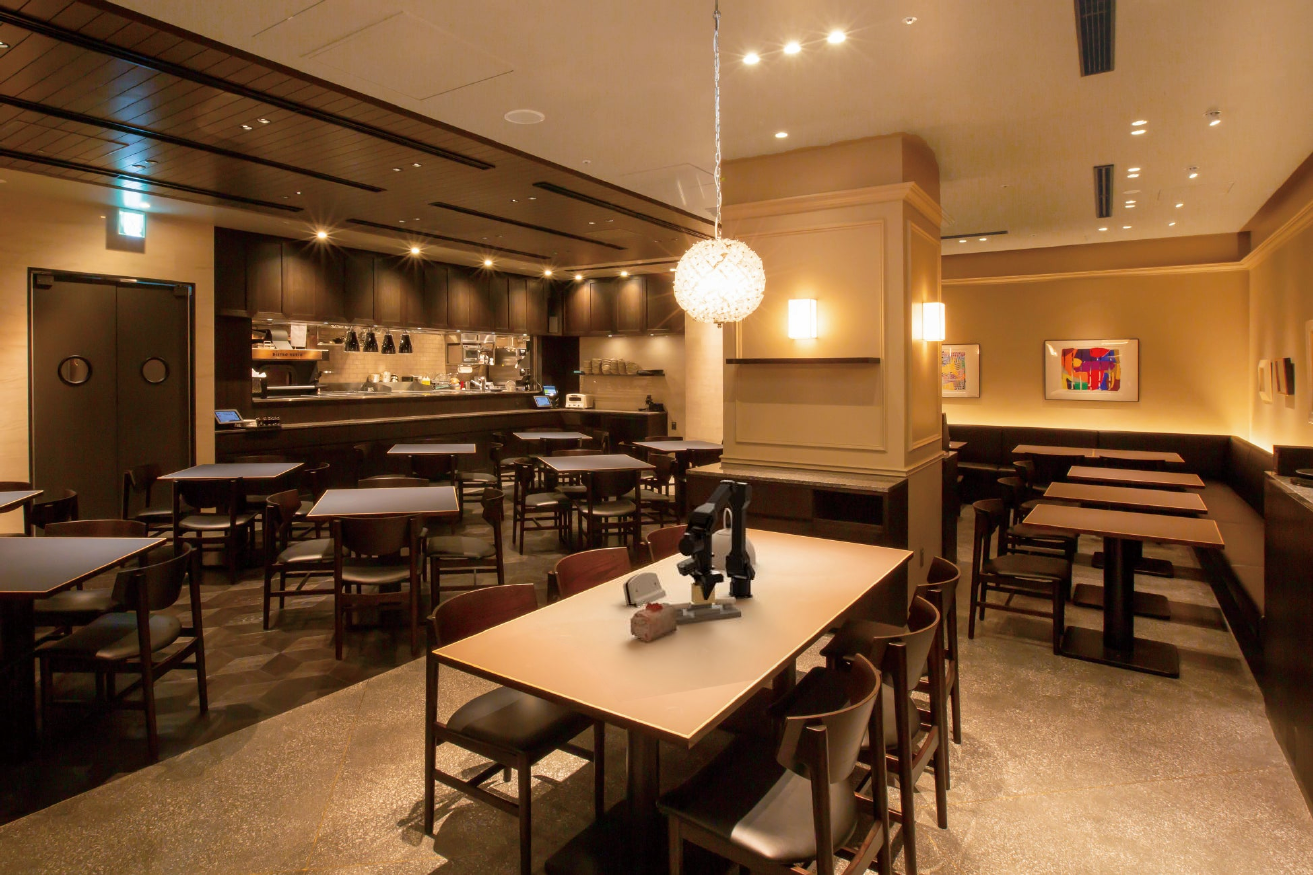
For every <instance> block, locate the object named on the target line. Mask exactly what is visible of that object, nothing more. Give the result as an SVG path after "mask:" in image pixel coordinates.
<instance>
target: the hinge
mask: <svg viewBox="0 0 1313 875" xmlns="http://www.w3.org/2000/svg"><path fill="white" fill-rule="evenodd" d="M622 588H623V593H624V599H625V605H626V604H628V605H627V606H629V605H634V604H636V607H637V606H640V607H642V605H643V604H645V605H648V604H647V602H650V603H652V602H654V600H655V601H658V600H659V599H661V598H664V597H666V596H667V594H666V590H665V589H663V588H662V586H661V582H660V580H659V578H658V574H656V573H655V572H641V573H638V574H634V575H633V576H631V577H630V578H628V579H627V580H625V582H624V583H623V585H622ZM643 606H644V605H643Z"/></svg>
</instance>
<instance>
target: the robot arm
mask: <svg viewBox="0 0 1313 875" xmlns="http://www.w3.org/2000/svg"><path fill="white" fill-rule="evenodd" d="M753 492H754V491H753V488H752V486H751V485H750V483H748V482H737V481H733V480H728V479H727V480H725V479H724V480H721V481H720V482H719V484H718V486H717V488H716V489H715V491H714V492H713V493H712V495H711V496H710V497H709V499H707V500H706V502H705V503H704V504H702V505H699V506H698V507H696V508H695V509H694V510H693V511H692V513H691V515H690V517H689V518H688V519H689V520H688V522H687V525H686V528H685V531H684V532H685V533H684V534H683V538H681V539H680V540H679V542H678V545H677V546H678V551H679V552H680V554H681V555H682V556H683V557H689V558H686V559H684V560H681V561H679V562H677V563H676V564H675V565H676V567H677V568H676V569H677V570H678V574H679V575H681V576H683V577H686V576H690V577H691V579H693V581H694V582H700V583H701V584H702V588H703V596H704V600H708V598H709V596H710V594H711V592H712V590H713V588H714V586H715V587H716V585H717V584H720V583H721V584H722V583H724V582H725V576H724V574H722V572H720V571H718V570H715V567H714V566H712V557H715V554H714V553H712V534H715V532H716V531H715V530H714V528H715V526H716V524H717V522H718V519H719V518H718V514H719V513H720V511H721V509H722V508H723V507H724V505H725V504H726V503H727V502H728V504H729V505H730V508H731V513H732V543H731V551H730V553H729V554H728V555H726V564H725V569H726V570H725V569H724V570H725V573H726V577H727V578H730V582H729V591H728V594H729V595H731V597H735V599H742V598H751V597H752V598H753V596H754V595H753V594H752V592H751V590H752V589H751V588H752V587H751V586H752V585H751V584H752V582H751V581H754V580H755V576H756V571H755V569H754V568H753V567H754V566H753V567H752V566H751V564H750V557H749V555H748V553H747V551H746V537H747V508H748V506H749V505H750V503H751V501H752V496H753Z"/></svg>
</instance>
